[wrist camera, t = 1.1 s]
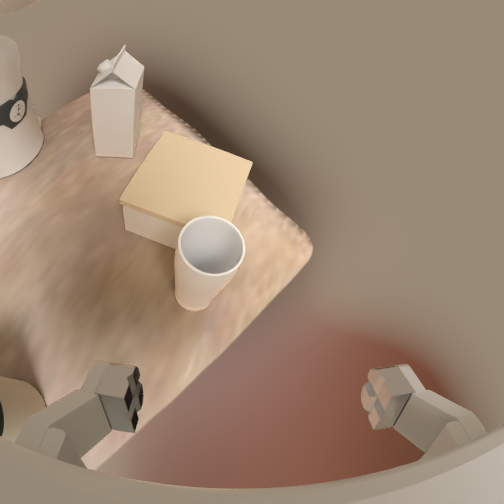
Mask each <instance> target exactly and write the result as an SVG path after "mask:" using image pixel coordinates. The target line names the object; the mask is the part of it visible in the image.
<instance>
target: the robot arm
mask: <svg viewBox="0 0 504 504" xmlns="http://www.w3.org/2000/svg"><path fill="white" fill-rule="evenodd" d="M38 1H40V0H0V18H1V17H3V16H6V15H9V14H11V13H14V12H17V11H20V10H22V9H24V8H26V7H28V6H30V5H32V4H34V3H36V2H38ZM41 125H42V119H41V116H37V114H36V111H35V108H34V105H33V102H32V99H31V96H30V95H29V94H28V91H27V84H26V82H25V79H24V77H23V76H22V71H21V65H20V58H19V50H18V46H17V44H16V43H15V42H14V41H13V40H12V39H10V38H8V37H6V36H0V178H3V177H6V176H9V175H12V174H14V173H16V172H18V171H20V170H21V169H23V168H24V167H25V166H27V165H28V164H29V163H30V162H31V161H32V160H33V159H34V158H35V157H36V155H37V154H38V153H39V151H40V149H41V147H42V144H43V140H44V136H43V132H42V130H41ZM139 377H140V372H139V368H138V367H136V366H129V365H123V364H117V363H111V362H110V363H109V362H104V361H99V360H97V361H96V362H95V363H94V364H93V366H92V368H91V370H90V372H89V374H88V376H87V378H86V380H85V382H84V384H83V386H82V388H81V390H80V391H79V390H75V391H74V392H72V393H70V394H68V395H67V396H65V397H63V398H62V399H60V400H58V401H56V402H55V403H53V404H51V405H49V406H47V407H46V408H44V409H42V410H40V411H39V412H37V413H35V414H33V415H31V416H30V417H28V418H27V420H26V422H25V424H24V426H23V427H22V429H21V431H20V433H19V435H18V437H17V439H16V441H15V443H14V442H12V441H10V440H8V439H5V438H3V437H1V436H0V504H504V424H503V425H502V426H500V427H498V428H496V429H494V430H492V431H490V432H488V433H487V431H486V430H485V429H484V427H483V426H482V424H481V423H480V421H479V420H478V419H477V417H476V416H475V415H474V413H473V412H470V411H469V410H466V409H465V408H463V407H461V406H459V405H457V404H455V403H453V402H451V401H449V400H447V399H446V398H444V397H442V396H440V395H438V394H436V393H434V392H432V391H430V390H425V388H424V387H423V385H422V384H421V382H420V381H419V379H418V378H417V376H416V375H415V374H414V372H413V371H412V369H411V368H410V366H409V365H407V364H403V365H397V366H390V367H382V368H374V369H371V371H370V372H369V374H368V379H369V381H368V382H367V383H366V384H365V385H364V386H363V389H362V392H361V400H362V405H363V407H364V409H366V410H367V411H368V412H370V414H369V416H368V418H369V420H370V423H371V425H372V427H373V429H374V430H376V429H382V428H388V427H393V426H394V427H393V428H394V429H396V430H397V431H398V432H399V433H401V434H402V435H403V436H404V437H406V438H407V439H408V440H410V441H411V442H412V443H413V444H415V445H416V446H417V447H418V448H420V449H421V450H422V451H424V452H425V454H424V455H423V456H422V457H421V459H420V460H419V461H416V462H413V463H410V464H407V465H403V466H400V467H396V468H393V469H389V470H385V471H381V472H377V473H373V474H368V475H364V476H359V477H354V478H349V479H344V480H338V481H332V482H326V483H319V484H311V485H302V486H292V487H280V488H264V489H263V488H261V489H215V488H196V487H185V486H175V485H167V484H159V483H152V482H146V481H140V480H134V479H129V478H124V477H119V476H115V475H110V474H106V473H102V472H98V471H94V470H90V469H87V467H86V466H85V464H84V463H83V461H82V460H81V457H82V456H84V455H85V454H86V453H87V452H88V451H89V450H90V449H92V448H93V447H94V446H95V445H96V444H97V443H98V442H100V441H101V440H102V439H103V438H104V437H105V436H106V435H107V434H108V433H110V432H111V431H112V430H111V429H113V430H119V431H125V432H132V433H135V430H136V426H137V423H138V419H139V418H138V415H137V412H138V411H139V410H141V408H142V404H143V387H142V384H141V383H140V382H139V381H138V380H139Z"/></svg>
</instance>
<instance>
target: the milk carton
mask: <svg viewBox="0 0 504 504" xmlns="http://www.w3.org/2000/svg"><path fill="white" fill-rule="evenodd" d="M97 70H98V71H99V74H98V75H97V77H96V79H95V81H94V82H93V84H92V86H91V88H90V100H91V114H92V126H93V136H94V145H95V153H96V156H101V157H123V158H133V157H134V153H135V149H136V144H137V140H138V136H139V129H140V111H141V97H142V85H143V84H142V83H143V74H144V66H143V65H142V64H140V63H139V62H138V61H137V60H136V59H134V58H133V57H132V56H131V55H129V54H128V53H127V52H126V51H125V45H124V46H123V48H122V50H121V51H120V53H119V55H117V56H116V57H114V58H113V59H112V60H110V61H109V60H108V59H107V60H105V61H104V62H103V63H101V64H100V65H99V66H98V68H97Z"/></svg>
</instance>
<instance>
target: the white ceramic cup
mask: <svg viewBox="0 0 504 504" xmlns="http://www.w3.org/2000/svg"><path fill="white" fill-rule="evenodd" d="M244 256H245V242H244V239H243V236H242V234H241V233H240V231H239V230H238V229H237V227H236V226H235V225H233V224H232V223H231V222H229V221H228V220H226V219H224V218H221V217H218V216H212V215H206V216H200V217H197V218H194V219H192V220H191V221H189V222H188V223H187V224H186V225H185V226H184V227H183V228H182V230H181V232H180V234H179V237H178V241H177V245H176V249H175V257H174V271H175V297H176V300H177V302H178V303H179V304H180V305H181V306H182V307H183V308H185V309H187V310H189V311H200V310H202V309H204V308H206V307H207V306H208V305H209V304H210V303H211V301H212V300H213V299H214V298H215V297H216V296H217V295H218V293H219V292H220V291H221V290H222V289H223V288H224V287H225V286H226V285H227V284H228V283H229V282H230V281H231V280H232V278H233V277H234V275H235V274H236V272H237V271H238V269H239V267H240V265H241V263H242V261H243V259H244Z"/></svg>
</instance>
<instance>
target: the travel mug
mask: <svg viewBox="0 0 504 504" xmlns="http://www.w3.org/2000/svg"><path fill="white" fill-rule="evenodd" d="M44 408H46V405H45V402H44V400H43V398H42V396H41V394H40V393H39V392H38V390H37V389H36V388H35V387H33V386H32V385H31V384H29V383H27V382H25V381H22V380H17V379H11V378H6V377H1V376H0V436H1V437H3V438H5V439H8V440H10V441H12V442H15V441H16V439H17V437H18V435H19V433H20V431H21V429H22V427H23V426H24V424H25V422H26V420H27V418H28V417H30V416H31V415H33V414H35V413H37V412H39V411H40V410H42V409H44Z"/></svg>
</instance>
